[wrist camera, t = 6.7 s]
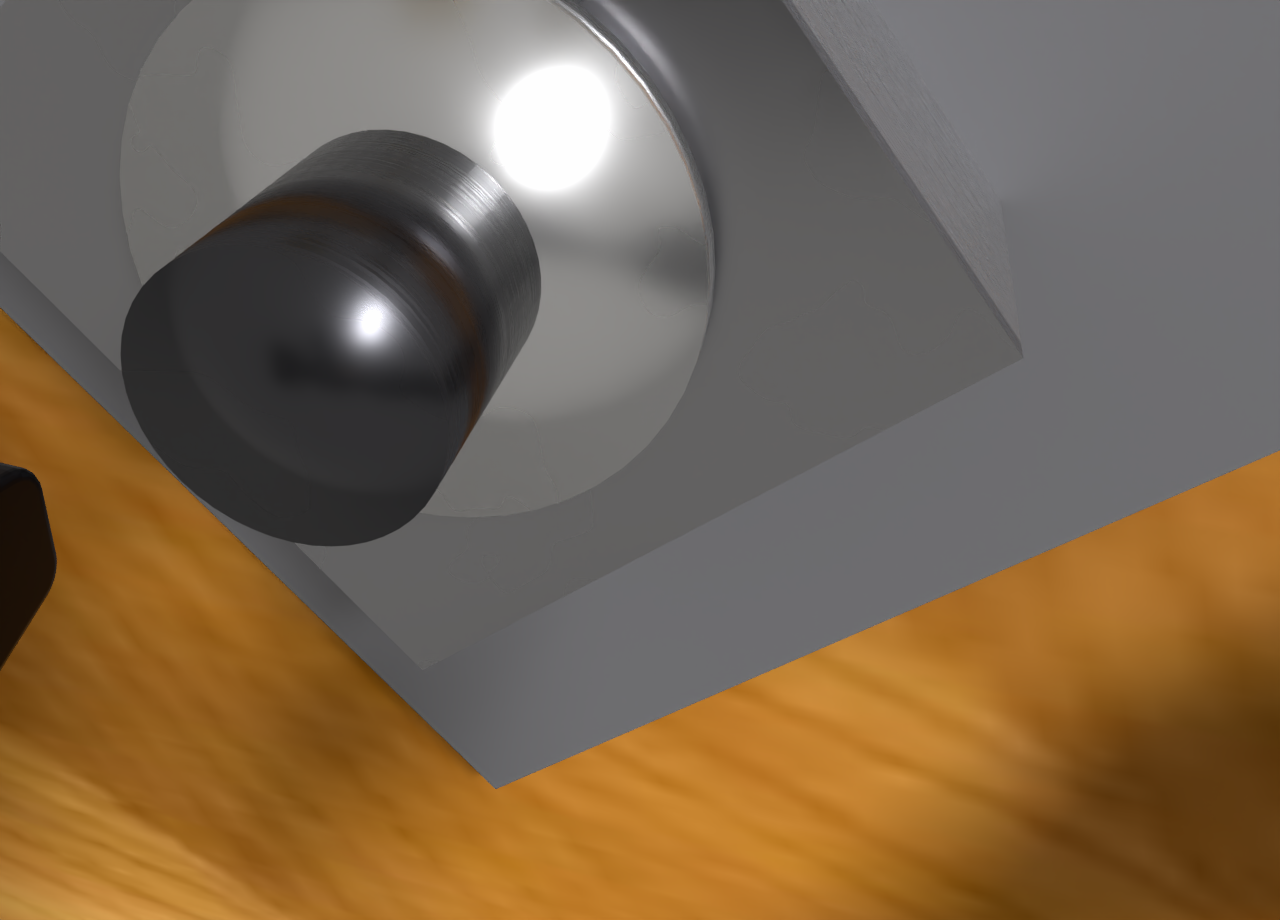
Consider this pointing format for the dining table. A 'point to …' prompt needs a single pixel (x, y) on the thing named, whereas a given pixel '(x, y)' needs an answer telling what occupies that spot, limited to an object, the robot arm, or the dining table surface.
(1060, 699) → the dining table surface
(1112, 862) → the dining table surface
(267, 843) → the dining table surface
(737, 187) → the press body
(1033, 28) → the slate mat
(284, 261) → the plunger
